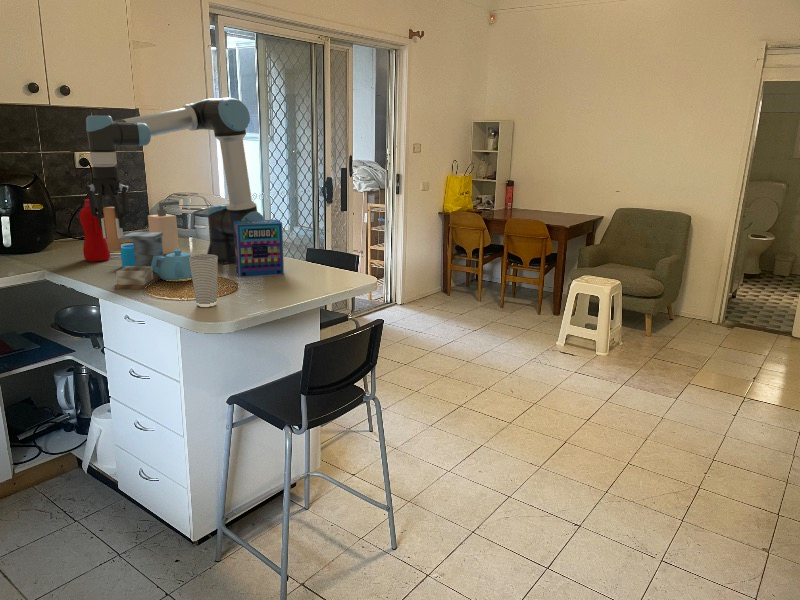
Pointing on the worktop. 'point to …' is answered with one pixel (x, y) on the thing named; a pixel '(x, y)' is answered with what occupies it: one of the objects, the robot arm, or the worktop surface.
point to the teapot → (173, 266)
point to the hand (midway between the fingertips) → (113, 237)
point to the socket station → (141, 261)
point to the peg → (111, 229)
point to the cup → (204, 277)
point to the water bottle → (93, 236)
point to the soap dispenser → (165, 227)
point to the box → (258, 248)
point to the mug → (127, 255)
